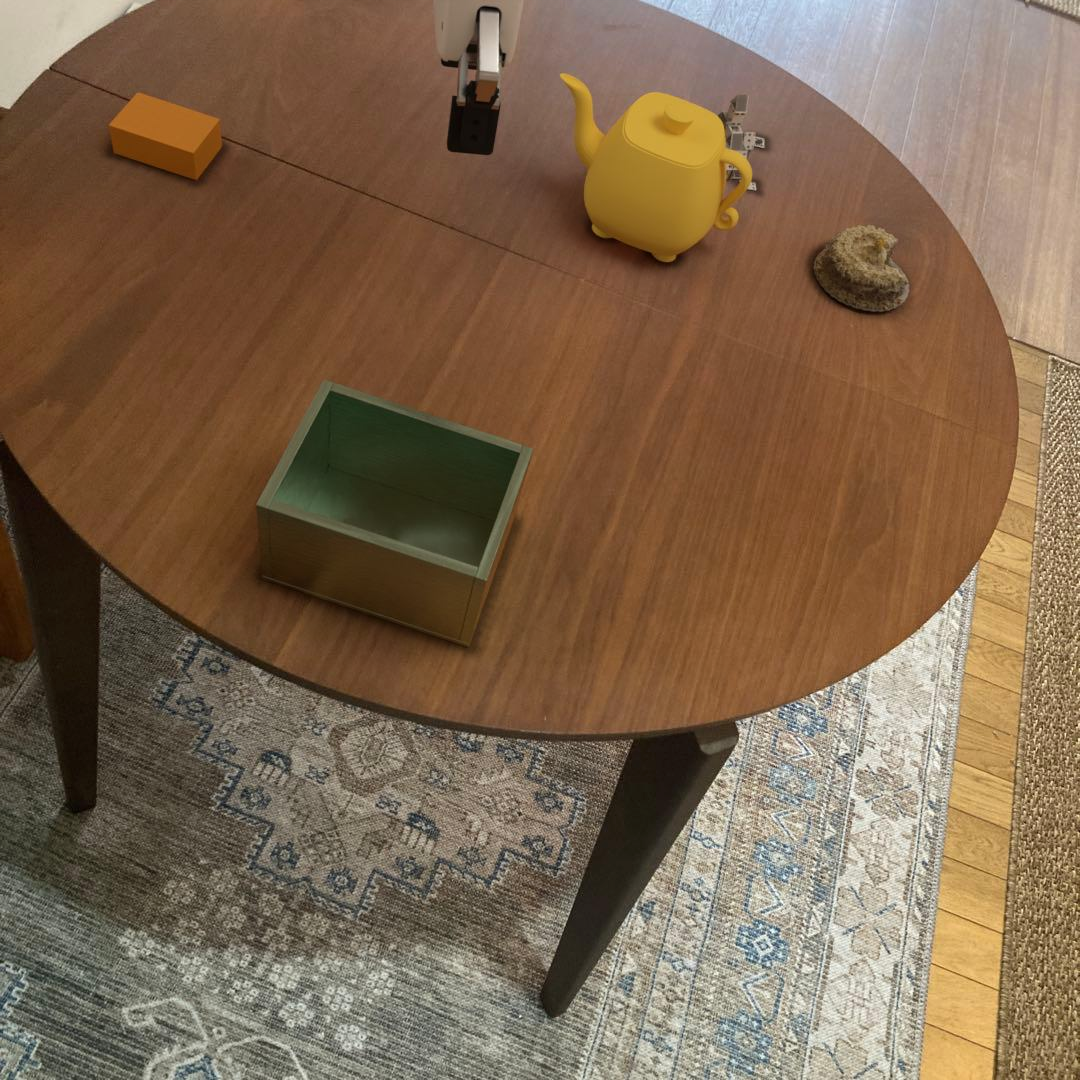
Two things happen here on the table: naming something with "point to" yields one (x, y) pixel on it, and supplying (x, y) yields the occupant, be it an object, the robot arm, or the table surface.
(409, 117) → the table surface
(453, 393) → the table surface
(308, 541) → the bin
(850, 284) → the cake
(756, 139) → the house of cards
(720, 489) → the table surface
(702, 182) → the teapot
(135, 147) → the block
